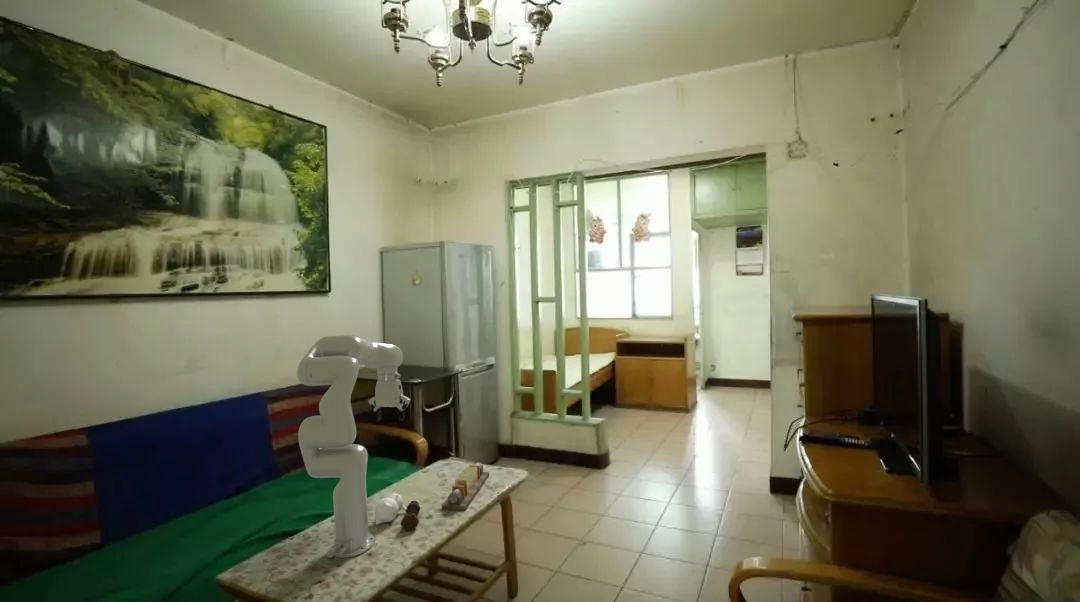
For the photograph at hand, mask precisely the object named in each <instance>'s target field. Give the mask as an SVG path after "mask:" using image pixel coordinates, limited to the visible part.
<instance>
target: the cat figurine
mask: <svg viewBox="0 0 1080 602" xmlns="http://www.w3.org/2000/svg"><path fill="white" fill-rule="evenodd" d="M403 499H404V498H403V497H402V495H400V494H399V493H395V492H394V491H392V492H391V493H390V494H389V495H387V496H386V497H384V498H381V499H380V500H379V501H378V502H377V503H376V504H375V507H374V516H375V524H376V525H379V524H381V523H389V522H392V521H393V520H395V519H396V517H397V516H398V514H399V512H400V511H401V509H402V508H403V510H404V511H405V512H406V509H407V507H406V506H405V504H404V500H403Z"/></svg>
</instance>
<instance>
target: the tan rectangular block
mask: <svg viewBox="0 0 1080 602" xmlns="http://www.w3.org/2000/svg"><path fill="white" fill-rule="evenodd" d="M477 481H478V475H477V467H469V466H466V467H465V468H464V469H463V470H462V471H461V472H460V474H459V475H458V476H457V477H456V478H455V480H454V485H464V487H465V495H468V493H469V492H470V491H471V489H472V488H473V486H474V485H475V484H476V482H477Z"/></svg>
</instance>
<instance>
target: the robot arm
mask: <svg viewBox="0 0 1080 602" xmlns="http://www.w3.org/2000/svg"><path fill="white" fill-rule="evenodd" d="M403 360H404V353H403V351H402V349H401V348H400V347H399V346H397V345H394V344H390V343H385V342H378V341H377V342H376V341H371V340H370V341H369V340H368V339H367V340H366V339H364V338H361V337H358V336H356V335H351V334H346V335H345V334H344V335H326V336H323V337H321V338H319V339H318V340H317V341H315V342H314V344H313V345H312V346H311V347H310V349H309V350H308V351H307V353H305V355H304V356H303V358H302V359H301V360H300V362H299V363H298V366H297V371H296V376H297V380H298V381H299V383H300V384H302V385H304V386H309V387H315V386H330V387H329V388H328V389H327V391H326V392H325V393H324V394H323V396H322V397H321V399H320V401H319V404H318V412H319V415H312V416H308V417H307V418H305V419H303V420H302V422H301V424H300V426H299V428H298V433H297V436H298V438H297V439H298V445H299V449H300V451H301V456H302V459H303V463H304V466H305V469H306V472H307V474H308V476H310V477H312V478H315V479H325V478H326V479H327V478H328V479H329V478H339V482H338V483H337V484H336V486H335V488H334V489H333V492H332V500H333V502H332V503H333V518H334V519H333V520H334V535H335V536H334V537H335V539H334V540H333V541H334V542H333V543H332V544H331V545H330V548H329V550H328V551H327V553H326V555H327V557H328V558H333V557H335V558H340V559H342V558H343V559H345V558H351V557H355V556H359V555H360V554H364V553H365V552H366V551H368V550H369V549H371V547H373V545H374V544H375V535H373V533H371V532H370V529H369V515H368V513H369V512H368V496H367V468H368V460H369V458H368V457H369V453H368V450H367V449H366V447H365V446H363V445H362V444H358V443H354V442H355V440H356V437H357V426H356V422H355V418H354V417H355V416H354V412H353V407H352V403H351V397H352V392H354V391H353V390H354V388H355V385H356V382H357V380H358V379H357V378H358V376H359V373H360V366H365V367H366V368H368V369H376V371H377V381H376V385H375V391H374V395H375V396H373V397H371V398H370V399H368V400H367V402H368V403H369V406H370V408H371V409H372V410H373V412H374V417H375V421H376V423H378V422H380V421H381V420H382V419H383V418H382V417H383V415H382V410H381V408H387V407H388V408H395V407H396V408H397V409H398V410H399V411H398V421H399V423H400V422H403V421H404V420H405V418H406V413H405V412H406V411H405V410H406V409H407V408H408V406H409V405H410V402H411V398H409V397H407V396H405V395H404V390H403V385H402V381H401V379H400V378H402V374H400V373H399V372H398V367H400V366H401V365H402V364H403Z"/></svg>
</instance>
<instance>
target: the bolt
mask: <svg viewBox="0 0 1080 602" xmlns="http://www.w3.org/2000/svg"><path fill="white" fill-rule="evenodd" d="M406 508H407V509H406V511H405V514H404V516H403V518H402V520H401V522H400V525H401V528H403V530H404V532H411V531H415V530H416V529H417V527H418V525H419V522H420V519H419V517H418V515H419V513H420V511H421V506H420V503H419V502H418V501H416V500H412V501H411V502H410V503H409V502H408V505H407V507H406Z"/></svg>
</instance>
